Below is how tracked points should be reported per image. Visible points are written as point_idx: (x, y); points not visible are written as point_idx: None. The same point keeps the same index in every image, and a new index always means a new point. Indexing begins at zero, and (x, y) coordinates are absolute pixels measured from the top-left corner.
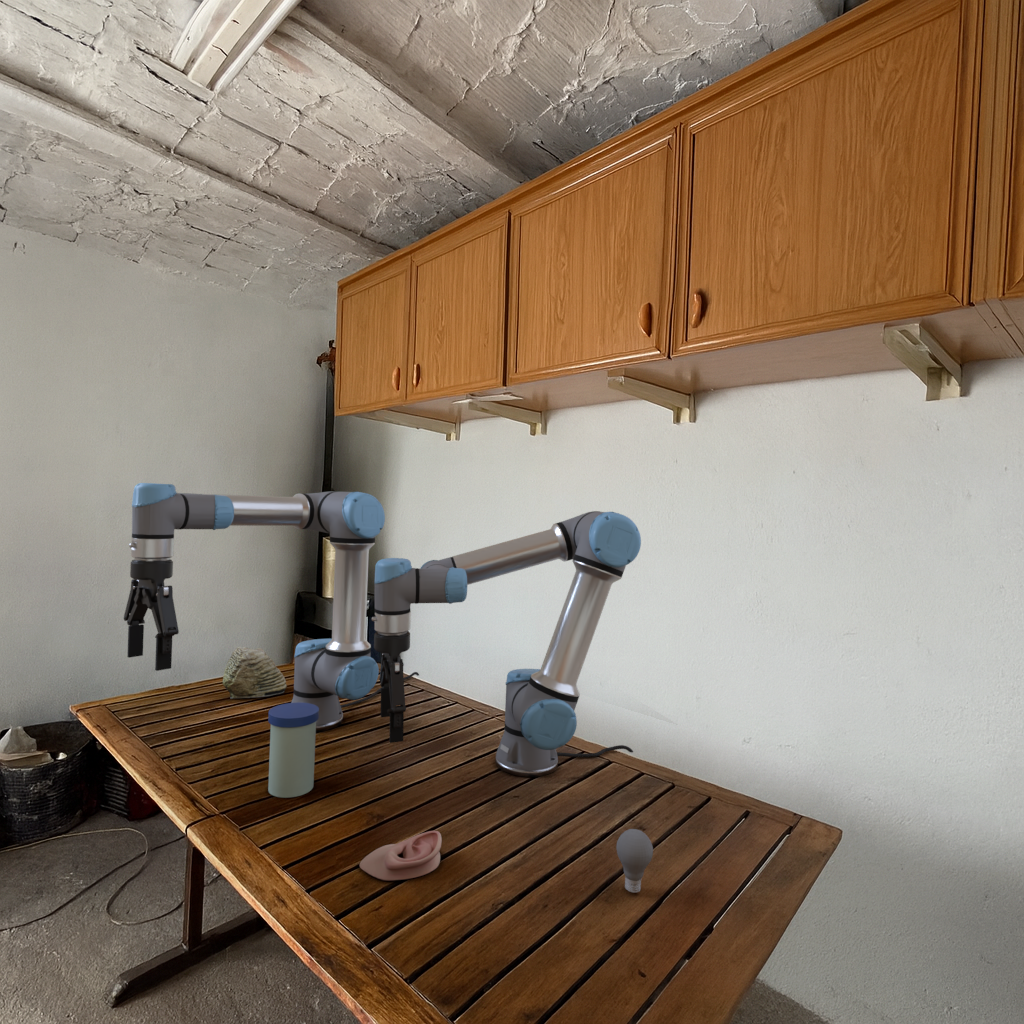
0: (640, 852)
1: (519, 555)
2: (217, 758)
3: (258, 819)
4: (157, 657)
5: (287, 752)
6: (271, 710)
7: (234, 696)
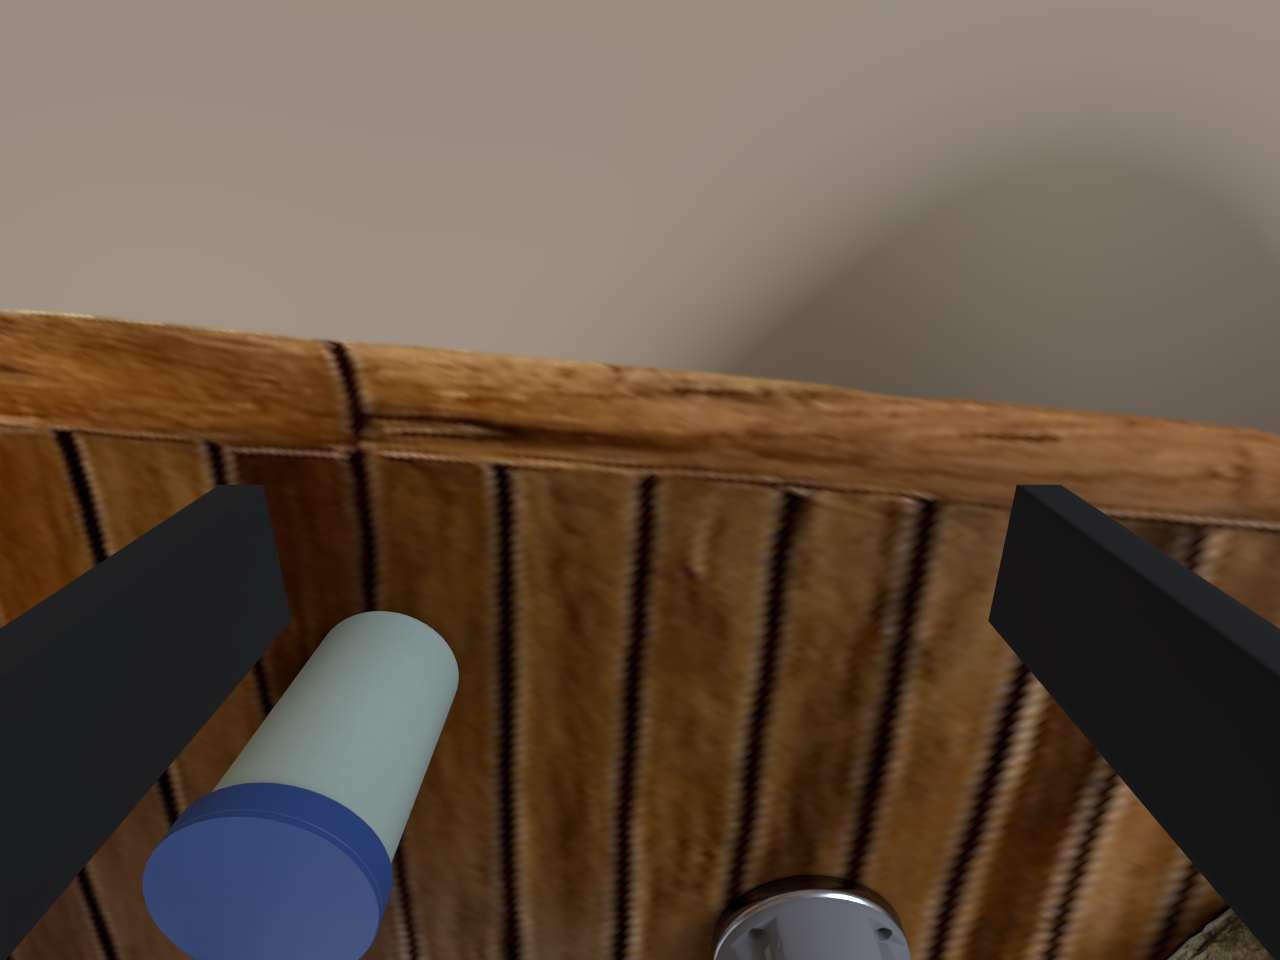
0: None
1: None
2: (775, 625)
3: None
4: (113, 558)
5: (257, 730)
6: (318, 846)
7: None
